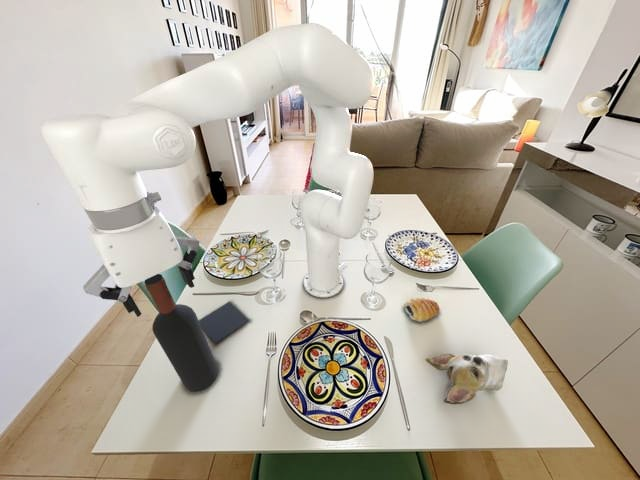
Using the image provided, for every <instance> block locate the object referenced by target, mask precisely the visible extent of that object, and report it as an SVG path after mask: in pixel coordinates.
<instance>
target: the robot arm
mask: <svg viewBox="0 0 640 480" xmlns="http://www.w3.org/2000/svg"><path fill="white" fill-rule="evenodd" d="M294 86H298V87H299V90H300V93H301V95H302V96H303V98H304V100H305V101H306V102H307V103H308V105H309V107H310V109H311V112H312V113H313V116H314V120H315V136H314V143H313V154H312V160H311V171H310V172H311V178H312V180H313V181H314V182H315V184H317V185H319V186H321V187H325V188H327V189H330V190H332V191H335V192H338V193H340V195H341V196H340V195H338V194H336V193H333V192H329V191H327V190H323V189H313V190H310V191H308V192H306V194H304V196H303V198H302V199H301V203H300V217H301V220H302V223H303V227H304V232H305V241H306V242H305V244H306V261H307V274H306V275H305V276H304V279H303V285H304V289H305V291H306V292H307V293H309V295H312V296H314V297H318V298H329V297H333V296H336V295H337V294H339V293H340V291H341V290H342V289H343V287H344V279H343V277H342V275H341V273H342V272H343V270H345V269H346V268H348V264H347V263H346V261H343V262H341V263H340V239H342V240H353V239H354V238H355V237H356V236H357V235H358V234H359V233H360V232H361V229H362V227H363V225H364V222H365V218H366V214H367V211H368V206H369V201H370V197H371V192H372V188H373V184H374V177H375V176H374V174H375V173H374V167H373V163H372V162H371V160H370V159H369V158H368V157H366V156H365V155H362V154H359V153H355V152H351V143H352V135H353V122H352V118H351V115H350V112H349V110H356V109H359V108H362V107H363V106H365V105H366V104H367V103H368V102H369V101H370V99H371V97H372V95H373V91H374V88H375V76H374V71H373V68H372V66H371V64H370V63H369V61H368V60H367V59H366V58H365V57H364V56H363V55H362V54H360V53H359V52H358V50H356V49H355V48H353V46H351V45H350V44H349V43H347V41H345V40H344V39H343V38H341V37H340V36H339V35H338V34H336V33H335V32H333V31H332V30H331V29H330V28H327V27H326V26H324V25H321V24H319V23H315V22H308V23H300V24H293V25H291V24H290V25H285V26H279V27H276V28H273V29H271V30H269V31H266V32H265V33H263V34H261V35H260V36H257V37H256V38H253V39H252V40H250V41H248V42H246V43H244V44H243V45H241V46H239V47H238V48H235V49H233V50H232V51H230V52H228V53H226V54H224V55H222V56H220V57H218V58H215V59H214V60H212V61H209V62H207V63H204V64H202V65H200V66H197V67H195V68H194V69H192V70H189V71H187V72H184V73H182V74H180V75H178V76H175V77H172V78H170V79H168V80H166V81H164V82H161V83H160V84H157V85H155V86H153V87H152V88H150V89H148V90H146V91H144V92H142V93H140V94H139V95H137V96H135V97H133V98H131V99H129V100H127V101H126V102H124V103H123V104H121V105H120V106H118V108H117V109H116V110H115V111H114V114H113V115H112V117H111V116H109V115H106V114H102V113H101V114H100V113H83V114H82V113H81V114H72V115H65V116H59V117H54V118H51V119H48V120H47V121H44V123H42V124H41V126H40V134H41V136H42V139H43V141H44V143H45V145H46V146H47V148H48V150H49V151H50V153H51V155H52V156H53V158H54V160H55V163H57V165H58V167H59V168H60V170H61V172H62V174H63V176H64V177H65V179H66V180H67V183H68V184H69V186H70V187H71V189H72V191H73V193H74V194H75V196H76V198H77V200H78V202H79V204H80V205H81V207H82V208H83V210H84V212H85V214H86V215H87V217H88V218H89V221H90V222H91V224H90V225H89V226H88V229H87V230H88V233H89V237H90V239H91V242H92V246H93V247H94V250H95V252H96V254H97V255H98V257H99V259H100V261H101V263H102V265H101V266H100V267H99V269H98V270H96V271H95V273H93V275H92V276H91V277H90V278H89V279H88V280H87V281H86V282H85V283H84V284H83V286H82V288H83V290H84V293H85V294H87V295H91V296H94V297H97V298H98V297H99V298H101V299H102V300H109V301H118V303H122V305H123V306H124V308H125V310H126V311H127V312H128V314H130V313H132V312H133V313H134V314H135V317H137V318H139V317H140V316H142V312H141V310H140V308H139V307H138V305H137V304H136V302H135V300H134V298H133V297H132V295H131V294H130V293H131V289H132V287H133V286H135V285H138V284H139V283H142V282H144V281H145V280H146V279H148V278H150V277H152V276H155V275H157V274H161V273H163V272H165V271H167V270H169V269H171V268H173V267H176V266H177V267H178V271H179V273H180V275H181V277H182V280H183V282H184V283H185V284H186V285H187V286H188V287H189V288H190V289H193V288H195V283H194V282H193V281H194V280H195V279H196V278H195V276H194V272H193V269H192V268H193V263H194V261H195V259H196V258H197V256H198V252H197V251H198V250H199V246H200V242H201V241H200V240H198V239H197V238H196V237H188V236H175V234H174V232H173V230H172V228H171V226H170V225H169V223H168V221H167V219H166V218H165V216H164V214H163V213H162V212H161V210H160V209H159V208H158V207H157V206H156V203H157V202H160V201H162V196H161V195H160V193H159V192H158V191H155V192H149V191H147V189H146V187H145V184H144V181H143V180H142V177H141V175H140V172H142V171H143V172H145V171H154V170H164V169H171V168H175V167H176V168H177V167H178V166H181V165H184V164H185V163H187V162H188V161H189V160H190V159H191V158H192V156H193V155H194V153H195V151H196V147H197V145H196V144H197V141H196V140H197V139H196V135H195V132H194V131H193V128H195V127H198V126H200V125H203V124H205V123H209V122H213V121H221V120H222V121H223V120H232V119H236V118H240V117H244V116H247V115H250V114H252V113H254V112H255V111H256V110H258V109H260V108H261V107H263V106H264V105H265V104H267V103H268V102H269V101H271V100H273V99H274V98H276V97H277V96H278V95H280V94H282V93H283V92H284V91H286V90H287V89H290V88H291V87H294ZM181 247H187V249H186V251H185V252H184V254H183V251H182V248H181ZM109 277H110V278H111V279H112V281H113V282H114V283H115V285H114V287H110V286H109V287H108V286H102V285H103V284H104V283H105V281H106V280H107V279H108V278H109Z"/></svg>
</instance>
